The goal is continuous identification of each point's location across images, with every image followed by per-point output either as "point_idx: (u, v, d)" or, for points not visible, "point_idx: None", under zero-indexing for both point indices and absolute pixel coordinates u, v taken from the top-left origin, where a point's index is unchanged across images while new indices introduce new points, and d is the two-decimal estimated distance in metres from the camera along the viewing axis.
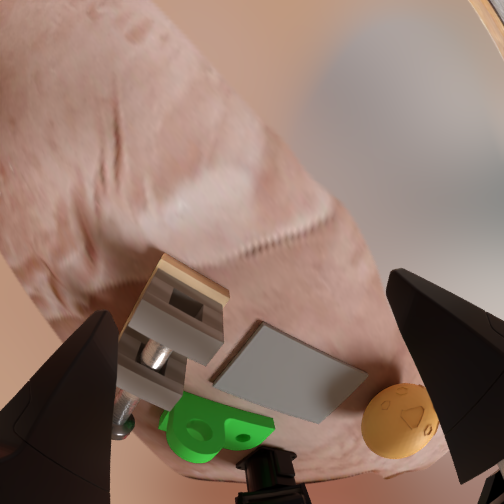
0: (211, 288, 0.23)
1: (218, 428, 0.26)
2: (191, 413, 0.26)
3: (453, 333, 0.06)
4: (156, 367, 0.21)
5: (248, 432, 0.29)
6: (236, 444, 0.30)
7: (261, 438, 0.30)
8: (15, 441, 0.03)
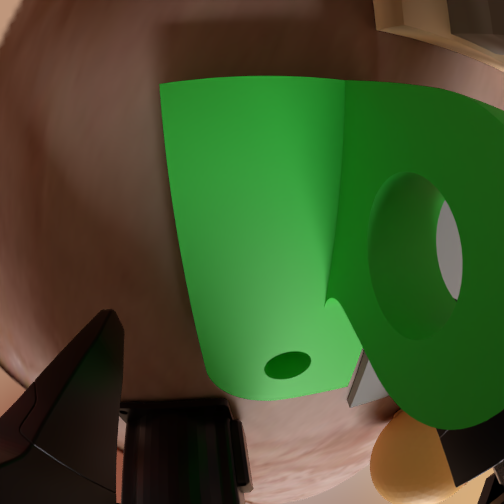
0: None
1: None
2: None
3: None
4: None
5: (321, 360, 0.10)
6: (245, 370, 0.10)
7: (301, 390, 0.12)
8: (21, 443, 0.03)
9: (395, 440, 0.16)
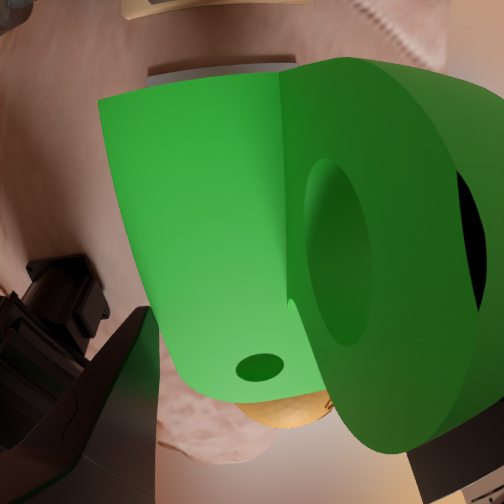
0: None
1: None
2: None
3: None
4: None
5: (294, 362, 0.10)
6: (217, 373, 0.10)
7: (280, 393, 0.11)
8: (67, 454, 0.03)
9: None
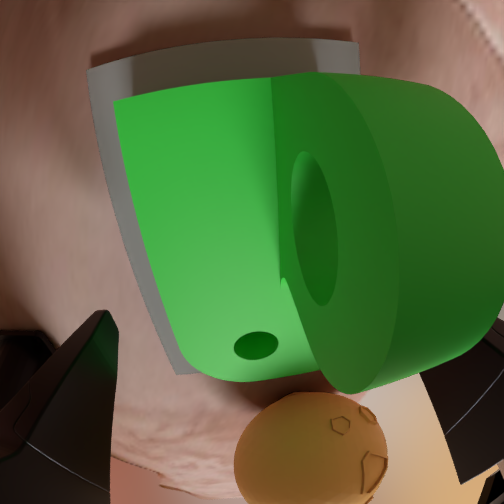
0: None
1: None
2: None
3: None
4: None
5: (288, 341, 0.11)
6: (216, 350, 0.11)
7: (275, 372, 0.12)
8: (15, 441, 0.03)
9: (249, 431, 0.15)
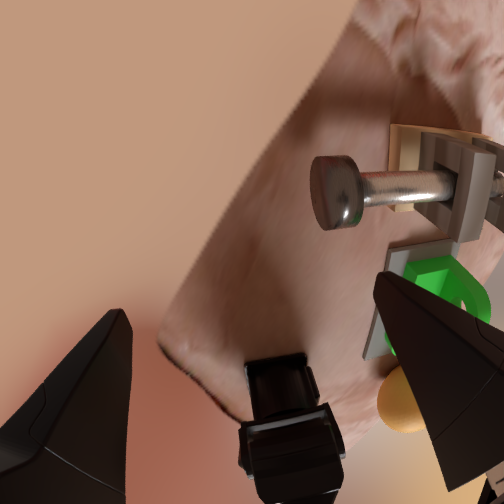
0: None
1: None
2: None
3: (439, 338, 0.06)
4: None
5: None
6: None
7: None
8: (32, 446, 0.03)
9: (391, 383, 0.31)
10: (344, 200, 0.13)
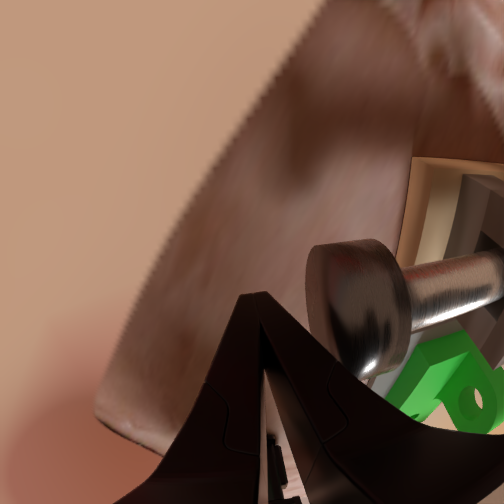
0: None
1: None
2: None
3: (282, 381, 0.05)
4: None
5: (421, 414, 0.20)
6: None
7: None
8: (243, 461, 0.03)
9: None
10: (370, 358, 0.06)
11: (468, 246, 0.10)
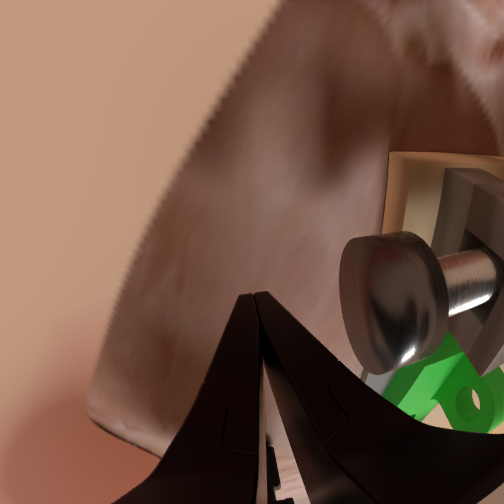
0: None
1: None
2: None
3: (283, 381, 0.06)
4: None
5: (418, 415, 0.20)
6: None
7: None
8: (240, 461, 0.03)
9: None
10: (413, 345, 0.06)
11: (452, 245, 0.09)
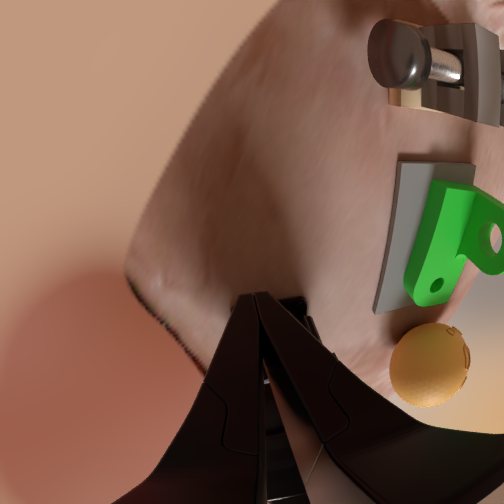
0: None
1: None
2: None
3: (283, 381, 0.06)
4: None
5: (446, 284, 0.23)
6: (425, 286, 0.23)
7: (434, 301, 0.24)
8: (240, 461, 0.03)
9: (406, 345, 0.27)
10: (414, 46, 0.09)
11: None
